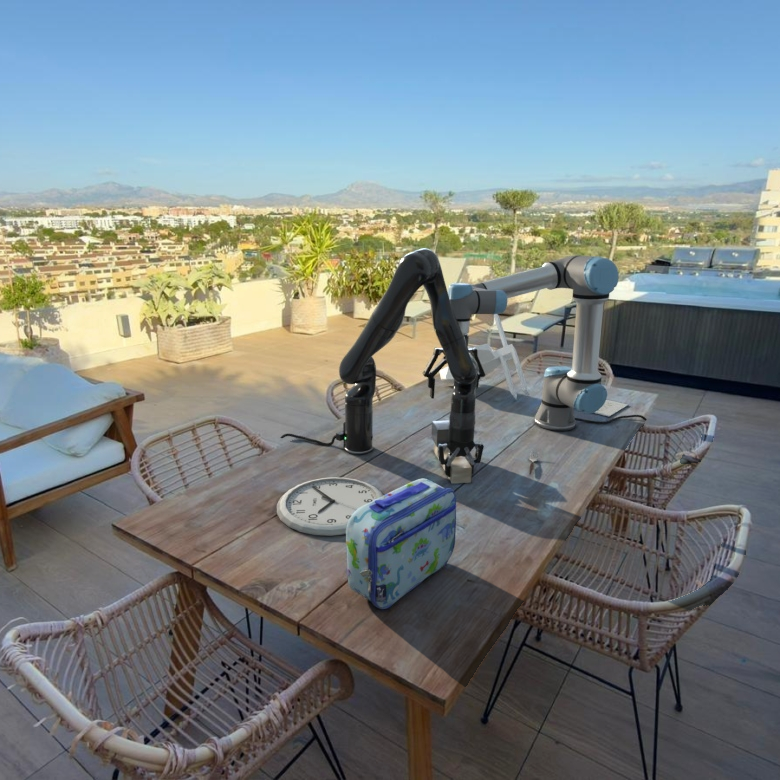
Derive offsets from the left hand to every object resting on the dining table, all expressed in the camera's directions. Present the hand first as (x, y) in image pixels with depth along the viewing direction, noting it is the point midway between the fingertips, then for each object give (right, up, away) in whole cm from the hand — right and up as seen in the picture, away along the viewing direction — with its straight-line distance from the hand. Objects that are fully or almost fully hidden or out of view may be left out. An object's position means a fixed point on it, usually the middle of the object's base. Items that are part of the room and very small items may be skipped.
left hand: (458, 475), depth 159 cm
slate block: (-2, +9, +15) cm, 17 cm away
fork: (+25, +1, +10) cm, 27 cm away
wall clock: (-37, -6, -16) cm, 40 cm away
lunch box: (-18, -15, -46) cm, 52 cm away
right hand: (0, +24, +12) cm, 27 cm away
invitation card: (+71, +19, +67) cm, 99 cm away
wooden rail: (-1, +2, +9) cm, 9 cm away
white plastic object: (+21, +25, +84) cm, 90 cm away
